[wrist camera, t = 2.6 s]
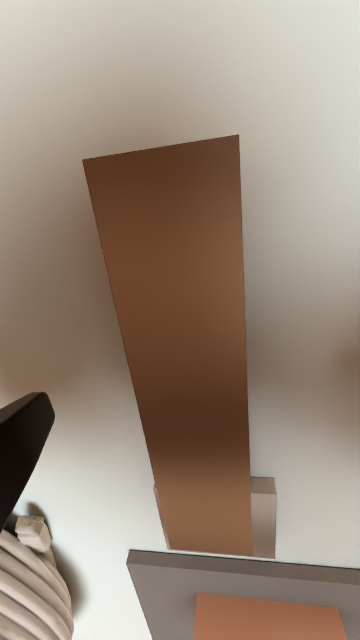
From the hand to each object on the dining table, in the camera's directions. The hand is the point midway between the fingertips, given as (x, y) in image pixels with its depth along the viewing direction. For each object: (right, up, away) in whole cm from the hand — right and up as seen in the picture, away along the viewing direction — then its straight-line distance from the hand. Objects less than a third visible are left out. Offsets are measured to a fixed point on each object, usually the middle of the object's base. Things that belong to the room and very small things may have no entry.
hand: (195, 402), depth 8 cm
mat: (+5, -16, +9) cm, 19 cm away
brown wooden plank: (+1, -1, +3) cm, 3 cm away
